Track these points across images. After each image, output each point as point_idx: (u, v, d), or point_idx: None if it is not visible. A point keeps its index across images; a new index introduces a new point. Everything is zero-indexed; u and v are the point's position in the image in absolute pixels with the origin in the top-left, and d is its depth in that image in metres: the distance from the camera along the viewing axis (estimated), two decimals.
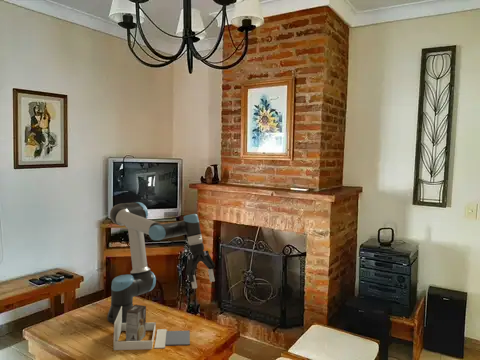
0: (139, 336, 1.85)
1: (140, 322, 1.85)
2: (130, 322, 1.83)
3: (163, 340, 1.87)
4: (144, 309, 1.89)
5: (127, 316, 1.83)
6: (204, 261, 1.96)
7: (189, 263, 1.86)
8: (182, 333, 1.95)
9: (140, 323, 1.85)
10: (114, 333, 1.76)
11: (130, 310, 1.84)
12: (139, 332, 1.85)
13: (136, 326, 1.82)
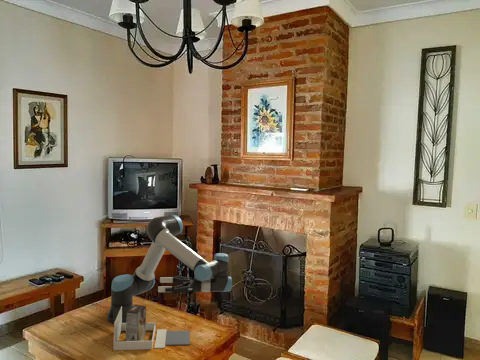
0: (139, 336, 1.85)
1: (140, 322, 1.85)
2: (130, 322, 1.83)
3: (163, 340, 1.87)
4: (144, 309, 1.89)
5: (127, 316, 1.83)
6: (181, 282, 1.93)
7: (184, 291, 1.82)
8: (182, 333, 1.95)
9: (140, 323, 1.85)
10: (114, 333, 1.76)
11: (130, 310, 1.84)
12: (139, 332, 1.85)
13: (136, 326, 1.82)
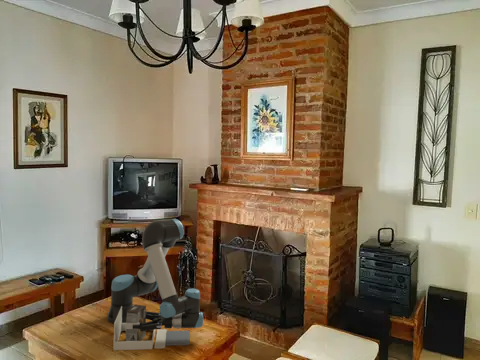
0: (139, 336, 1.85)
1: (140, 322, 1.85)
2: (130, 322, 1.83)
3: (163, 340, 1.87)
4: (144, 309, 1.89)
5: (127, 316, 1.83)
6: (152, 318, 1.91)
7: (152, 328, 1.81)
8: (182, 333, 1.95)
9: None
10: (114, 333, 1.76)
11: (130, 310, 1.84)
12: (139, 332, 1.85)
13: None
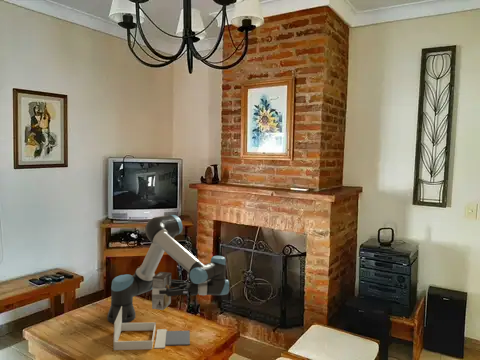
0: (165, 302, 1.84)
1: None
2: None
3: (163, 340, 1.87)
4: (170, 276, 1.88)
5: (153, 282, 1.82)
6: (177, 286, 1.90)
7: (178, 293, 1.80)
8: (182, 333, 1.95)
9: None
10: (114, 333, 1.76)
11: (156, 276, 1.84)
12: (165, 298, 1.84)
13: None
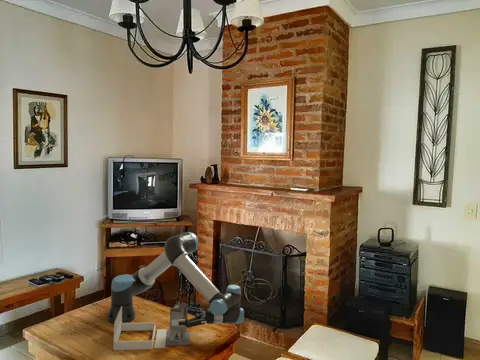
0: (182, 334, 1.88)
1: None
2: None
3: (163, 340, 1.87)
4: (186, 307, 1.92)
5: (171, 315, 1.86)
6: (194, 313, 1.95)
7: (197, 324, 1.84)
8: None
9: None
10: (114, 333, 1.76)
11: (173, 308, 1.87)
12: (182, 330, 1.88)
13: None
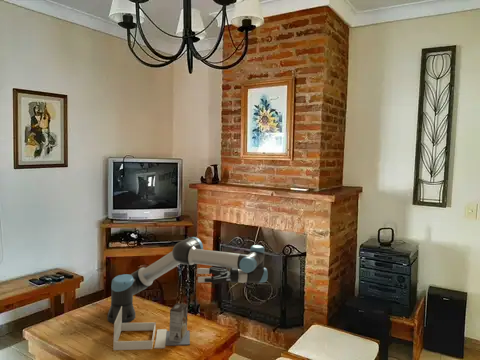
0: (182, 334, 1.88)
1: (183, 320, 1.88)
2: (174, 320, 1.86)
3: (163, 340, 1.87)
4: (186, 307, 1.92)
5: (171, 315, 1.86)
6: (218, 273, 1.98)
7: (222, 281, 1.87)
8: None
9: (183, 321, 1.88)
10: (114, 333, 1.76)
11: (173, 308, 1.87)
12: (182, 330, 1.88)
13: (180, 324, 1.85)
